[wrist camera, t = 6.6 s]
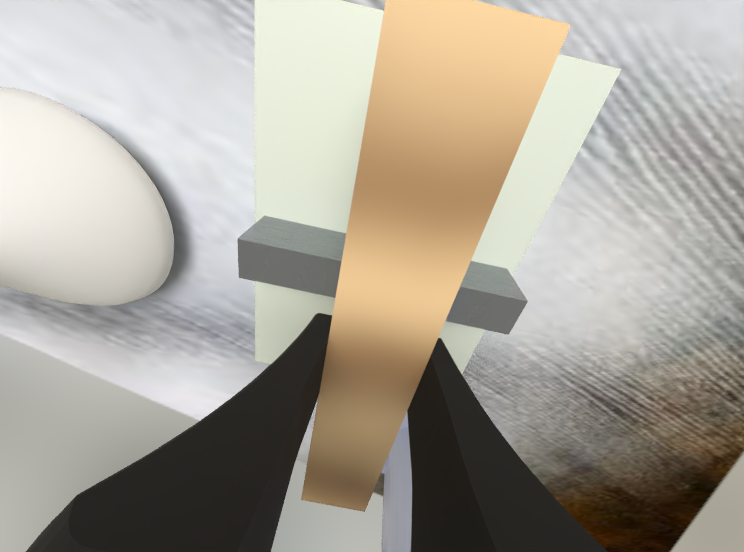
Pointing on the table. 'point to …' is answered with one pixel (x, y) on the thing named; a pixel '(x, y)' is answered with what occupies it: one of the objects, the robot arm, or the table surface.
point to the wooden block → (418, 215)
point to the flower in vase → (75, 209)
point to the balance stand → (340, 162)
